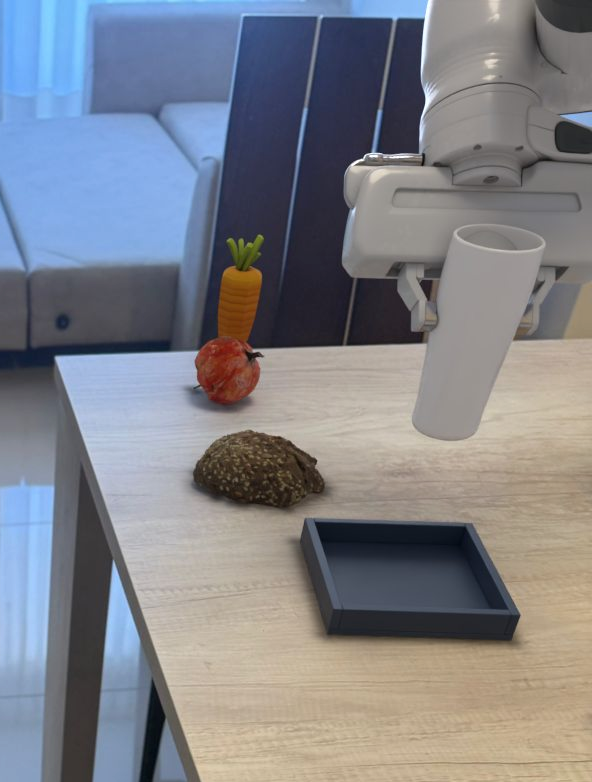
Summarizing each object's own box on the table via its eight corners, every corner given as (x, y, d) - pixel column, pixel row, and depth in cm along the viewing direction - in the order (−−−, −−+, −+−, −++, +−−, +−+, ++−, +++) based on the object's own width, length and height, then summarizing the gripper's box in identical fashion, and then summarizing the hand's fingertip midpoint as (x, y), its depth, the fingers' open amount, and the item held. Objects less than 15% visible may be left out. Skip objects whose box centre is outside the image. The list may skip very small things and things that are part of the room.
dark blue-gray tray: (464, 547, 110) (472, 522, 108) (511, 640, 98) (521, 615, 96) (299, 541, 110) (304, 517, 108) (327, 634, 98) (333, 609, 97)
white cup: (462, 455, 92) (524, 258, 82) (385, 429, 95) (436, 236, 85) (499, 429, 96) (562, 237, 86) (424, 405, 99) (477, 217, 89)
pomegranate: (180, 422, 134) (242, 392, 126) (163, 359, 133) (225, 325, 125) (224, 412, 138) (287, 383, 130) (208, 351, 137) (270, 318, 129)
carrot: (201, 367, 141) (219, 236, 130) (219, 354, 144) (238, 225, 133) (238, 377, 139) (259, 244, 128) (256, 364, 142) (277, 233, 131)
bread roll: (175, 485, 118) (181, 439, 115) (233, 442, 125) (240, 398, 122) (289, 523, 112) (299, 476, 109) (343, 476, 120) (353, 431, 116)
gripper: (356, 128, 87) (351, 307, 87) (630, 134, 87) (627, 315, 86) (333, 176, 93) (329, 344, 93) (588, 183, 93) (585, 351, 92)
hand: (474, 330), depth 89 cm, fingers closed on white cup, 6 cm apart
